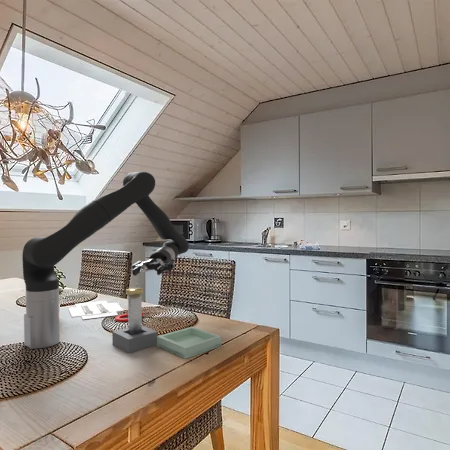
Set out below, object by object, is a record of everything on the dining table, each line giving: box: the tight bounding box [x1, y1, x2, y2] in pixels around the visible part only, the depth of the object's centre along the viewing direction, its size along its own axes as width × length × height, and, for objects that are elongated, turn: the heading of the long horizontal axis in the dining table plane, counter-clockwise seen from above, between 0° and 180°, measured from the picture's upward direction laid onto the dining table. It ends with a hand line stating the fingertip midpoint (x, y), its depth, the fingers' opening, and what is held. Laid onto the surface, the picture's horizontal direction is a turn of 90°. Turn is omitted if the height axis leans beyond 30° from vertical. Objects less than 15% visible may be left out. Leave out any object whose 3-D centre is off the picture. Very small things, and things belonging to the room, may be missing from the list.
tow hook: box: [114, 282, 144, 323], centre depth 140 cm, size 9×14×10 cm
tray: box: [156, 326, 223, 360], centre depth 110 cm, size 14×14×3 cm
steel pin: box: [125, 287, 144, 336], centre depth 112 cm, size 5×5×17 cm
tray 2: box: [67, 299, 125, 320], centre depth 154 cm, size 20×28×4 cm
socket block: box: [111, 325, 159, 354], centre depth 112 cm, size 10×10×4 cm
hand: (145, 272), depth 120 cm, fingers open, 8 cm apart
